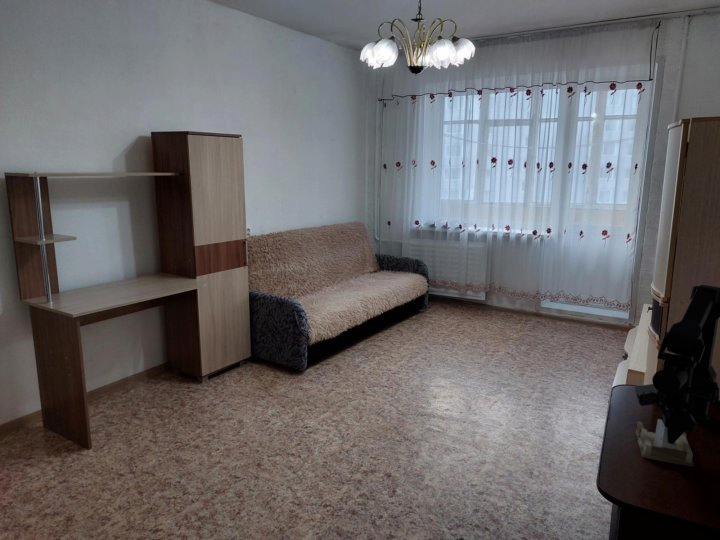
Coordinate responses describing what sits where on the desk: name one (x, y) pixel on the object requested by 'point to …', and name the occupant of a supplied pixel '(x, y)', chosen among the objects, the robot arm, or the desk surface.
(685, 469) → the desk surface
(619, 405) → the desk surface
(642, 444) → the slotted track
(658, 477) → the desk surface
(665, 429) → the white wedge bracket
